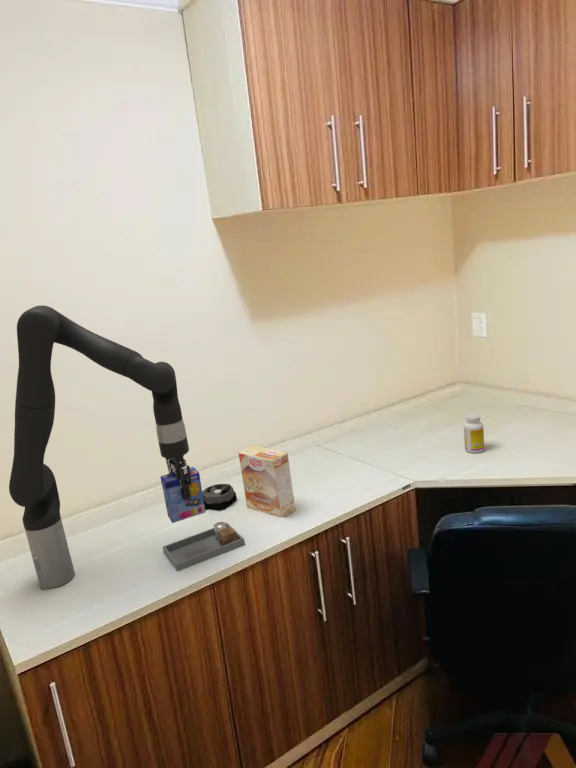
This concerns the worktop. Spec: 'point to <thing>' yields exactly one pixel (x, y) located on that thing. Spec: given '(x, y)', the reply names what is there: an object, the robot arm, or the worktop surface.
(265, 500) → the coffeecake box
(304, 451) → the worktop surface
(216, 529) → the metal ball part
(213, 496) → the cpu cooler
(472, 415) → the supplement bottle
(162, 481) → the ink cartridge box
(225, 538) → the walnut block part
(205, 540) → the parts tray
